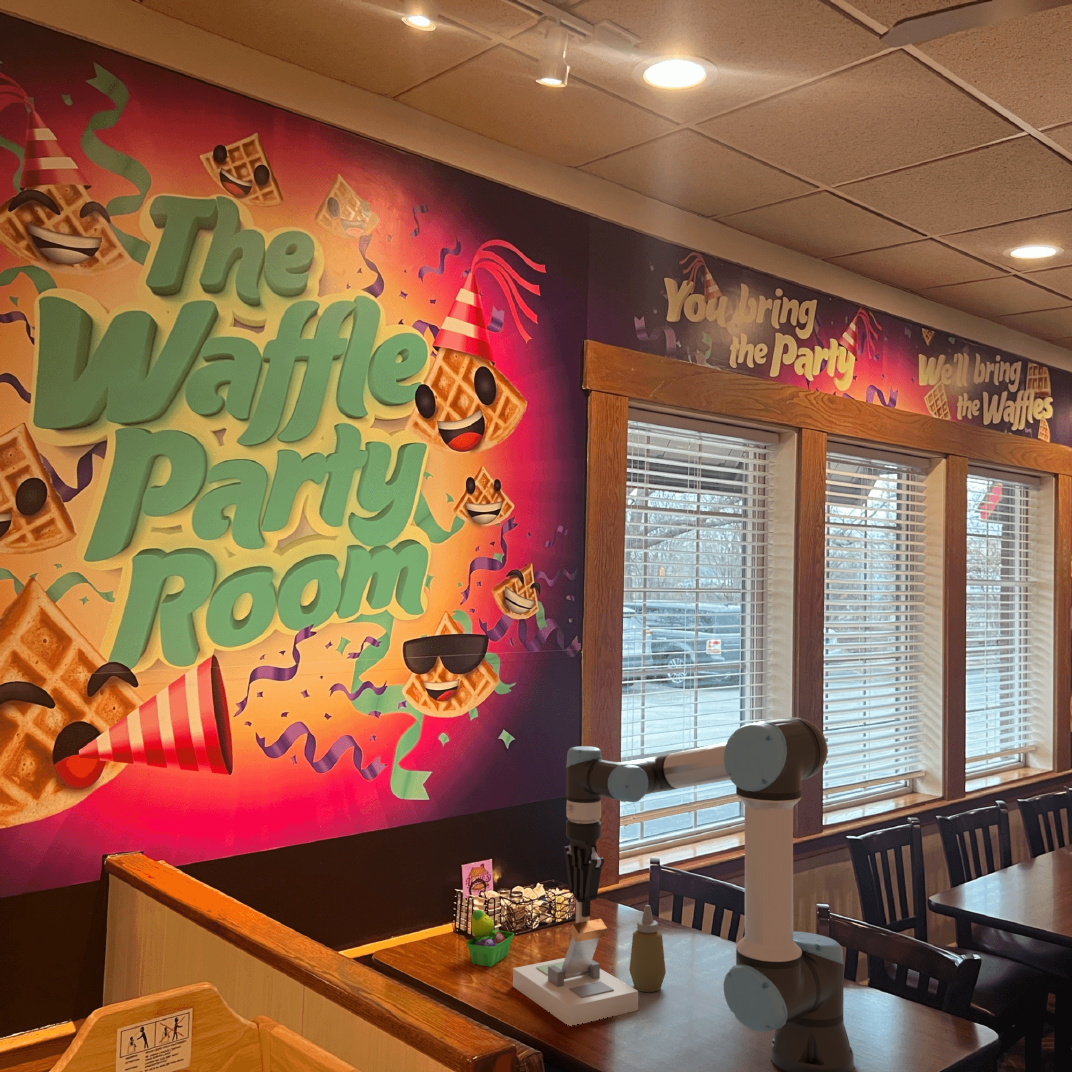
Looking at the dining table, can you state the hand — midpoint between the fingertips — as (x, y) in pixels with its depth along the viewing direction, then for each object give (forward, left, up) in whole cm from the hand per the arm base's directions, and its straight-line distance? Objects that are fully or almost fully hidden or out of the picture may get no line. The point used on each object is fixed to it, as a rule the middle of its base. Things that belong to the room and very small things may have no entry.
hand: (582, 930), depth 219 cm
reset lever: (+3, 0, -10) cm, 10 cm away
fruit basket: (+33, +6, -16) cm, 37 cm away
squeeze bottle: (0, -17, -16) cm, 23 cm away
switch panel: (+3, 0, -15) cm, 16 cm away
